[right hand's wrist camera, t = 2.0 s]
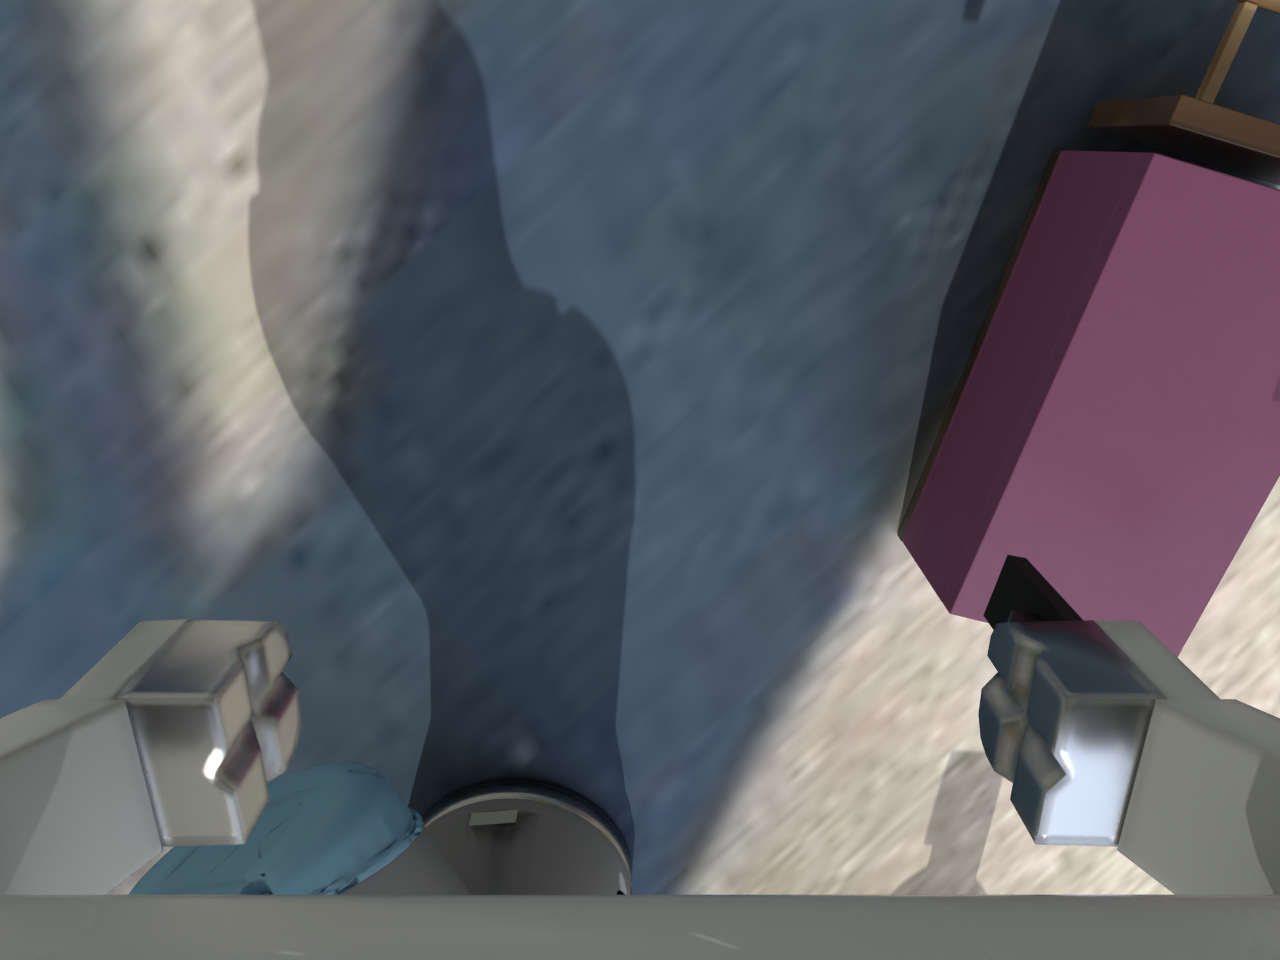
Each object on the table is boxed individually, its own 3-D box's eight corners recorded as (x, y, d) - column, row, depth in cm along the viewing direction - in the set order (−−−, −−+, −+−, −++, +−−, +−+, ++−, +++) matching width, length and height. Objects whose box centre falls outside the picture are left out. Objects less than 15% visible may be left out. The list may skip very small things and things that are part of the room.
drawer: (1154, -40, 39) (1257, -76, 33) (1364, 27, 40) (1504, 6, 34) (937, 484, 48) (984, 537, 42) (1113, 528, 49) (1185, 588, 43)
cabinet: (1053, 149, 43) (1154, 151, 35) (1269, 213, 44) (1418, 230, 36) (897, 534, 51) (949, 614, 42) (1084, 581, 52) (1172, 668, 43)
